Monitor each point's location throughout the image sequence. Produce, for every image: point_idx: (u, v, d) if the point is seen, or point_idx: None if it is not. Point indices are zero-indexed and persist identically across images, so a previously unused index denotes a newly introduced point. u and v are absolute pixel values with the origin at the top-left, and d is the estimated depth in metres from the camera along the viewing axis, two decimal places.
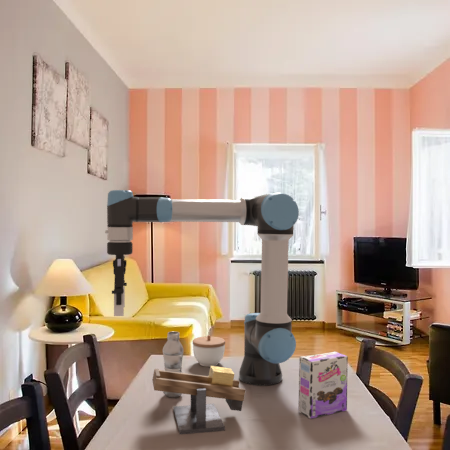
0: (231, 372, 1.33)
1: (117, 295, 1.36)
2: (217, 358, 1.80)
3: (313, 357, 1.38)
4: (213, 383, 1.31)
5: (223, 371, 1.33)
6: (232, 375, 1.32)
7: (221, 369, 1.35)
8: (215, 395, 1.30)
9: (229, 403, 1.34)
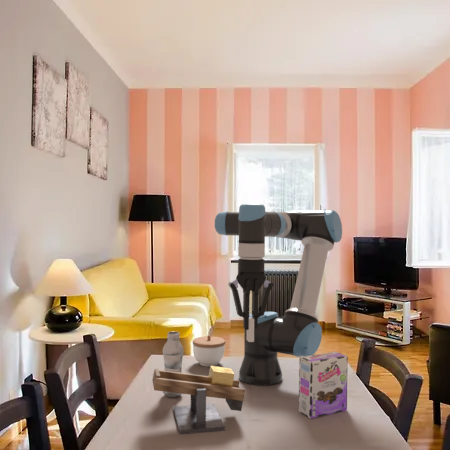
0: (231, 372, 1.33)
1: (243, 319, 1.36)
2: (217, 358, 1.80)
3: (313, 357, 1.38)
4: (213, 383, 1.31)
5: (223, 371, 1.33)
6: (232, 375, 1.32)
7: (221, 369, 1.35)
8: (215, 395, 1.30)
9: (229, 403, 1.34)
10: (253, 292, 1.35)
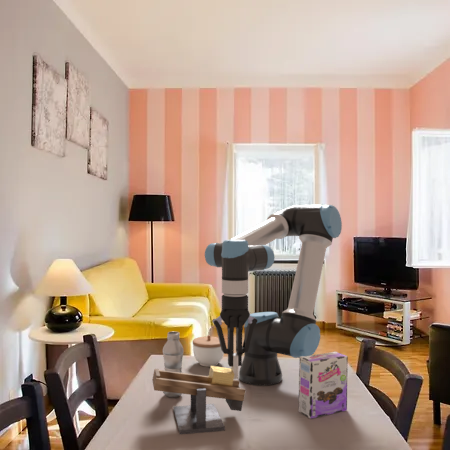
0: (231, 372, 1.33)
1: (228, 355, 1.35)
2: (217, 358, 1.80)
3: (313, 357, 1.38)
4: (213, 383, 1.31)
5: (223, 371, 1.33)
6: (232, 375, 1.32)
7: (221, 369, 1.35)
8: (215, 395, 1.30)
9: (229, 403, 1.34)
10: (237, 328, 1.35)
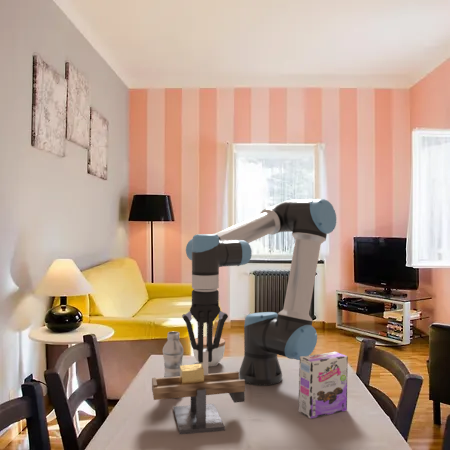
0: (200, 368, 1.32)
1: (198, 351, 1.33)
2: (217, 358, 1.80)
3: (313, 357, 1.38)
4: (184, 383, 1.30)
5: (192, 369, 1.31)
6: (201, 371, 1.31)
7: (190, 367, 1.33)
8: (215, 392, 1.30)
9: (232, 396, 1.34)
10: (207, 324, 1.33)
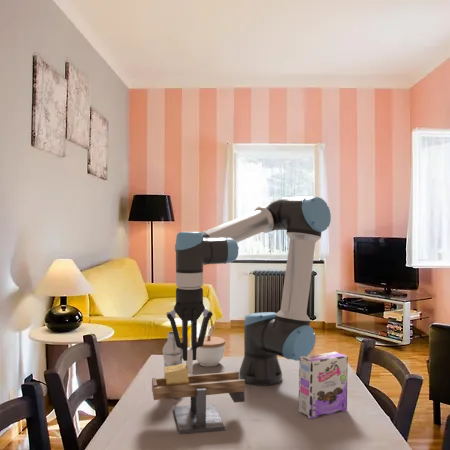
0: (184, 368, 1.31)
1: (182, 349, 1.32)
2: (217, 358, 1.80)
3: (313, 357, 1.38)
4: (168, 384, 1.29)
5: (176, 369, 1.30)
6: (185, 371, 1.30)
7: (174, 367, 1.32)
8: (215, 392, 1.30)
9: (232, 395, 1.34)
10: (191, 322, 1.32)
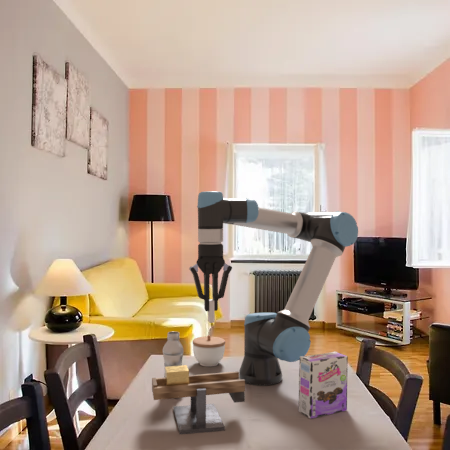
0: (186, 369, 1.31)
1: (204, 301, 1.43)
2: (217, 358, 1.80)
3: (313, 357, 1.38)
4: (169, 384, 1.29)
5: (177, 370, 1.30)
6: (187, 372, 1.30)
7: (175, 368, 1.32)
8: (215, 392, 1.30)
9: (232, 395, 1.34)
10: (213, 275, 1.42)
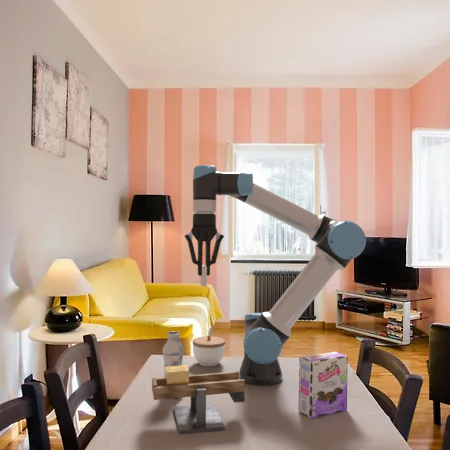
0: (185, 369, 1.31)
1: None
2: (217, 358, 1.80)
3: (313, 357, 1.38)
4: (169, 384, 1.29)
5: (177, 370, 1.30)
6: (187, 372, 1.30)
7: (175, 368, 1.32)
8: (215, 392, 1.30)
9: (232, 395, 1.34)
10: (206, 243, 1.55)
